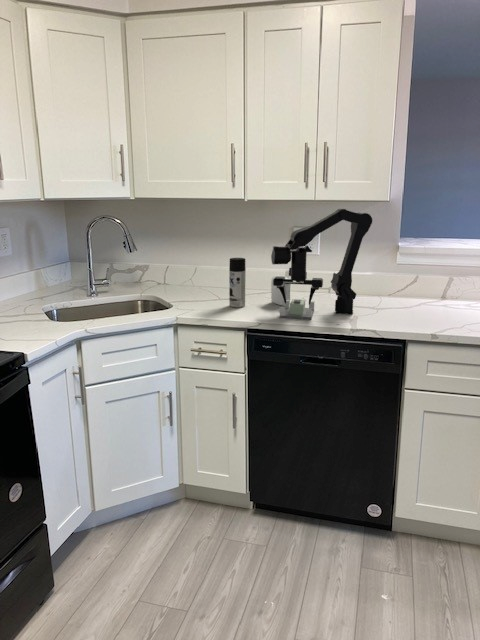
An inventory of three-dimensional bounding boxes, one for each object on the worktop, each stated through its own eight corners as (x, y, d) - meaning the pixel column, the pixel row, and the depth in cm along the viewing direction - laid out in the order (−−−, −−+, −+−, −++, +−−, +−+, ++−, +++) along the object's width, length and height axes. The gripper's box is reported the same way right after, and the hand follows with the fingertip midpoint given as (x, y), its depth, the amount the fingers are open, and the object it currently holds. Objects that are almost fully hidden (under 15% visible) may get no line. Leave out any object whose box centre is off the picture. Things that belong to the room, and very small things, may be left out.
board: (304, 309, 206) (305, 297, 205) (302, 314, 197) (303, 302, 196) (292, 308, 207) (292, 297, 206) (289, 314, 198) (290, 301, 197)
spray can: (226, 305, 217) (226, 257, 212) (240, 303, 220) (241, 256, 215) (233, 308, 212) (233, 259, 207) (248, 306, 215) (248, 258, 210)
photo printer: (269, 302, 223) (270, 274, 220) (277, 301, 225) (278, 273, 222) (282, 306, 215) (283, 277, 212) (291, 305, 217) (292, 276, 214)
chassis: (314, 310, 208) (314, 301, 207) (311, 319, 194) (311, 309, 193) (284, 309, 210) (284, 299, 209) (279, 318, 196) (279, 307, 195)
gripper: (324, 261, 203) (322, 300, 207) (277, 260, 207) (276, 298, 211) (322, 265, 192) (321, 306, 196) (273, 264, 196) (272, 304, 200)
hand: (297, 303), depth 201 cm, fingers open, 9 cm apart
